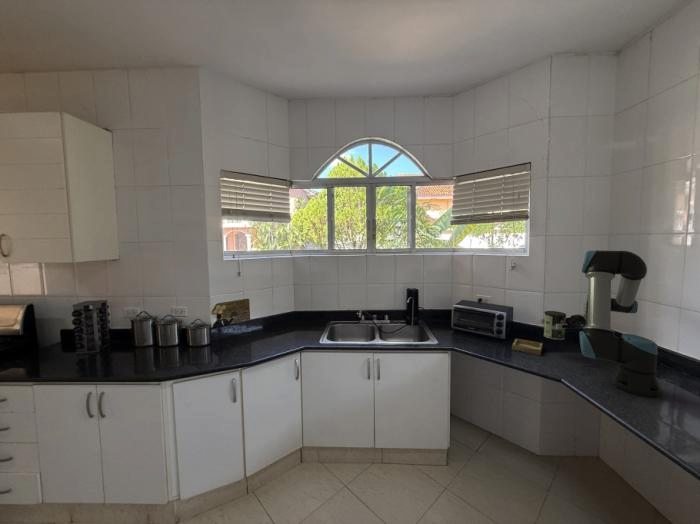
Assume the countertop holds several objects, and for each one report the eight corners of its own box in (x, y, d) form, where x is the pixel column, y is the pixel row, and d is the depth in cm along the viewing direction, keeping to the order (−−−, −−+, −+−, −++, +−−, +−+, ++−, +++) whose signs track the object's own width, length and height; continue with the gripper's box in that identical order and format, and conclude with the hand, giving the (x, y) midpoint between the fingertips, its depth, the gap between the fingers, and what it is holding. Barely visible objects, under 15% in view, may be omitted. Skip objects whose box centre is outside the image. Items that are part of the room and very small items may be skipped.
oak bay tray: (540, 355, 172) (540, 350, 171) (512, 350, 180) (512, 345, 180) (542, 347, 183) (542, 343, 183) (515, 343, 192) (515, 338, 192)
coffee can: (567, 337, 172) (568, 313, 171) (561, 341, 166) (562, 316, 164) (547, 332, 180) (548, 309, 179) (540, 336, 174) (541, 312, 173)
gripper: (599, 333, 165) (566, 336, 161) (562, 321, 187) (532, 324, 183) (600, 319, 165) (566, 323, 160) (563, 310, 187) (532, 312, 182)
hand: (548, 323), depth 171 cm, fingers closed on coffee can, 10 cm apart
